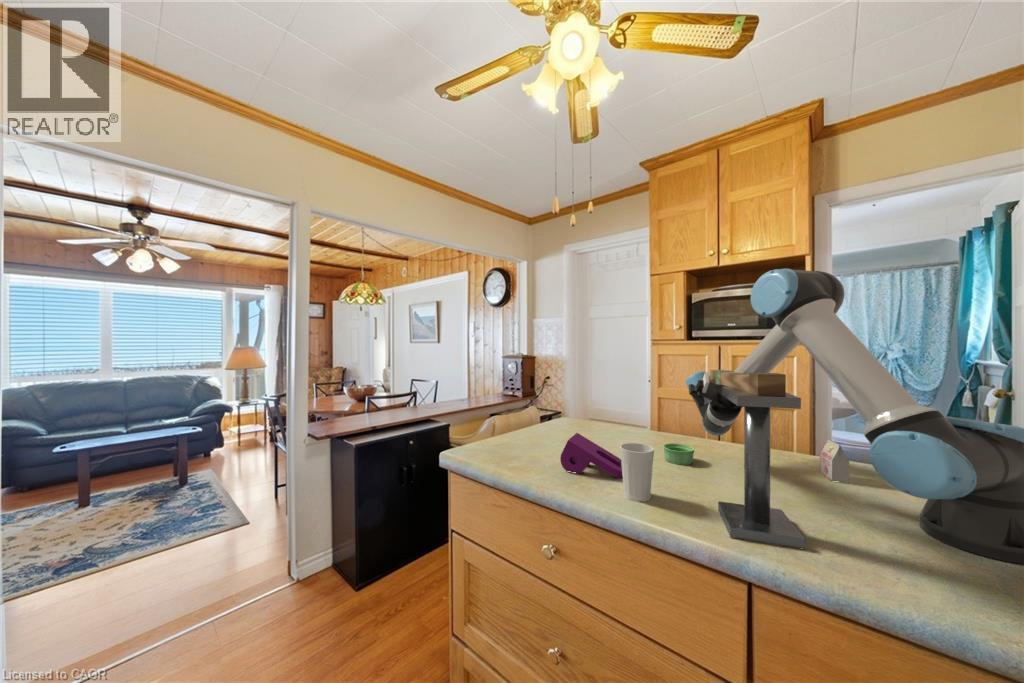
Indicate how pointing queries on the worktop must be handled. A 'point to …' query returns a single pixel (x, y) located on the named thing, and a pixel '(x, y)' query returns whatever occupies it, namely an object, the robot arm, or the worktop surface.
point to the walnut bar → (751, 382)
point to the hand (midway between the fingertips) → (739, 378)
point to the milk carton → (834, 462)
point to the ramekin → (678, 453)
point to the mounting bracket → (588, 457)
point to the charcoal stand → (759, 475)
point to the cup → (637, 470)
